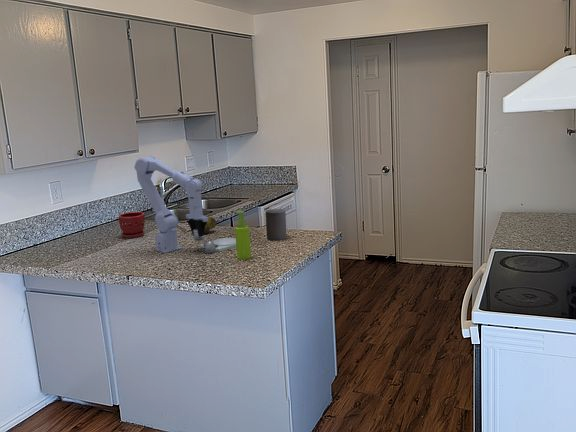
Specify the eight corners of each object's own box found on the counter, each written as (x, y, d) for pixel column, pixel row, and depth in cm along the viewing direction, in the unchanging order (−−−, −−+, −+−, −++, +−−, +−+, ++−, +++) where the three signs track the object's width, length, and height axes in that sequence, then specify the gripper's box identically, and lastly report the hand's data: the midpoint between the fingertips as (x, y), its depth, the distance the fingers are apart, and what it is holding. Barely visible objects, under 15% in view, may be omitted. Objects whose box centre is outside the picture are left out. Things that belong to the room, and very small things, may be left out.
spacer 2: (209, 254, 245) (208, 243, 244) (203, 252, 248) (202, 242, 247) (216, 252, 248) (215, 241, 247) (211, 251, 250) (210, 240, 250)
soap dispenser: (242, 254, 240) (238, 209, 236) (254, 256, 236) (250, 210, 232) (232, 258, 236) (228, 211, 232) (244, 260, 231) (240, 213, 228)
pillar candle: (264, 240, 264) (262, 209, 261) (270, 235, 273) (268, 205, 270) (283, 241, 261) (281, 209, 258) (289, 236, 270) (288, 205, 267)
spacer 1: (197, 241, 250) (196, 230, 249) (192, 240, 253) (191, 229, 252) (204, 239, 252) (203, 228, 252) (199, 238, 255) (198, 227, 254)
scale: (219, 251, 248) (218, 246, 247) (199, 247, 259) (198, 242, 258) (247, 243, 259) (246, 239, 259) (227, 240, 270) (226, 235, 269)
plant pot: (116, 239, 287) (113, 216, 285) (129, 233, 300) (126, 211, 298) (139, 239, 284) (136, 216, 282) (151, 233, 297) (148, 211, 295)
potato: (191, 233, 290) (189, 218, 289) (215, 230, 294) (214, 215, 293) (194, 236, 282) (192, 221, 281) (219, 233, 287) (217, 217, 285)
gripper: (179, 206, 252) (181, 235, 255) (197, 209, 242) (200, 239, 244) (191, 203, 257) (194, 232, 259) (210, 206, 246) (213, 236, 249)
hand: (198, 235), depth 252 cm, fingers closed on spacer 1, 4 cm apart
